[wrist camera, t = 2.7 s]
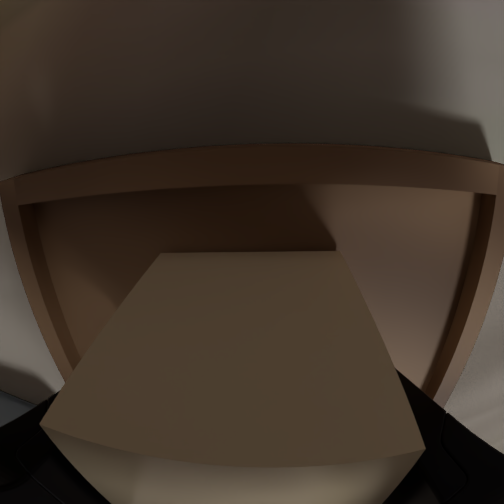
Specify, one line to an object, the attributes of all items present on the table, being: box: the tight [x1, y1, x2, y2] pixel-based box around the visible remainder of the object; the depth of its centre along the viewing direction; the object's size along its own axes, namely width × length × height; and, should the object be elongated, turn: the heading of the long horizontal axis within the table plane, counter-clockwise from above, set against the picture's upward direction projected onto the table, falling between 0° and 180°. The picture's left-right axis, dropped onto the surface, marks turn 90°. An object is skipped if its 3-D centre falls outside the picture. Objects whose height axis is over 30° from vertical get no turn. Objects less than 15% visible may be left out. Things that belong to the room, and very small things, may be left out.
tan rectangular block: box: [40, 251, 426, 504], centre depth 6 cm, size 4×4×6 cm
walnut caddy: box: [0, 143, 504, 408], centre depth 10 cm, size 19×15×1 cm
